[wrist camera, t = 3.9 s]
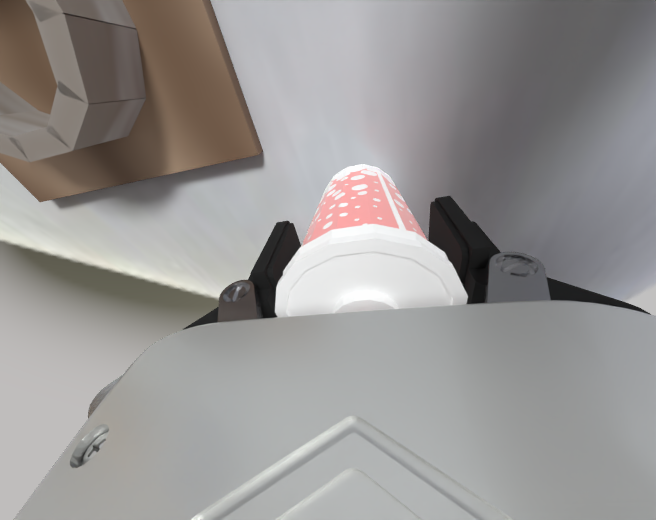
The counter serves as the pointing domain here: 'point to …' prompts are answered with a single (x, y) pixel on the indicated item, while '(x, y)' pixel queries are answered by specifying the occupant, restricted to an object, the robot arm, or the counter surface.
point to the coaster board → (169, 118)
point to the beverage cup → (365, 254)
